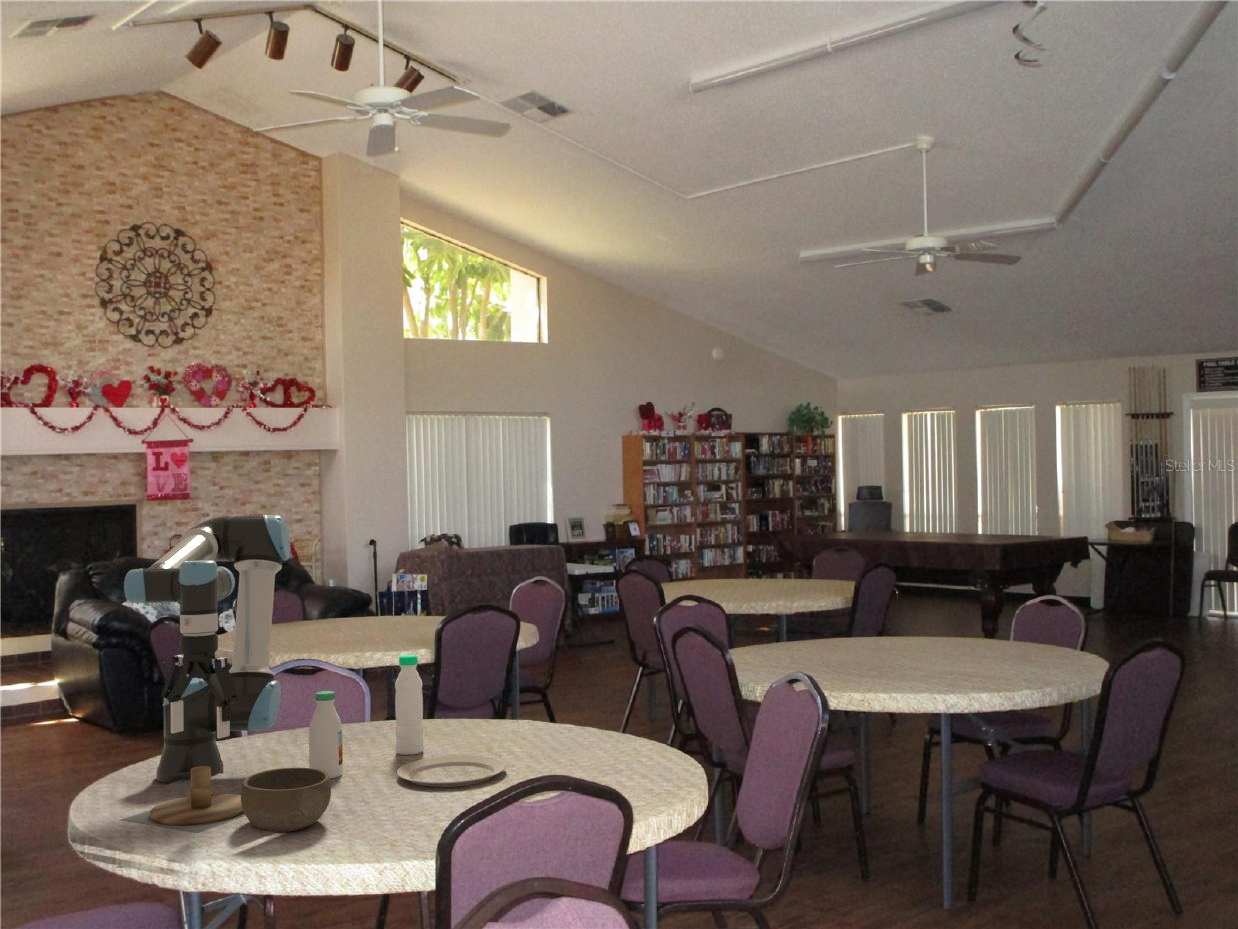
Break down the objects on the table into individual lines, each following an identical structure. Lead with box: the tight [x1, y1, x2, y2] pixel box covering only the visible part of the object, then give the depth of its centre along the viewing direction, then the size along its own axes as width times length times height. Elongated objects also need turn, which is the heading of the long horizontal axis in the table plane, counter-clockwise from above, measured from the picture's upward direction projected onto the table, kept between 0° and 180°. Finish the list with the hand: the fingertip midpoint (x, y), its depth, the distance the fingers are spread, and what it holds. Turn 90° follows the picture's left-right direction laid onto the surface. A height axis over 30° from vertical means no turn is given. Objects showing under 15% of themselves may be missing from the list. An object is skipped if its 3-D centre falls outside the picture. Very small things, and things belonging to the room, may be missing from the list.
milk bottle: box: [308, 690, 344, 780], centre depth 264 cm, size 8×8×20 cm
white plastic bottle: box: [394, 654, 425, 756], centre depth 287 cm, size 7×7×25 cm
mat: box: [120, 809, 246, 834], centre depth 233 cm, size 22×22×1 cm
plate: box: [396, 754, 506, 788], centre depth 262 cm, size 26×26×2 cm
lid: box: [150, 766, 244, 826], centre depth 233 cm, size 20×20×9 cm
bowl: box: [240, 767, 332, 833], centre depth 225 cm, size 17×18×10 cm
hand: (200, 734), depth 233 cm, fingers open, 13 cm apart
